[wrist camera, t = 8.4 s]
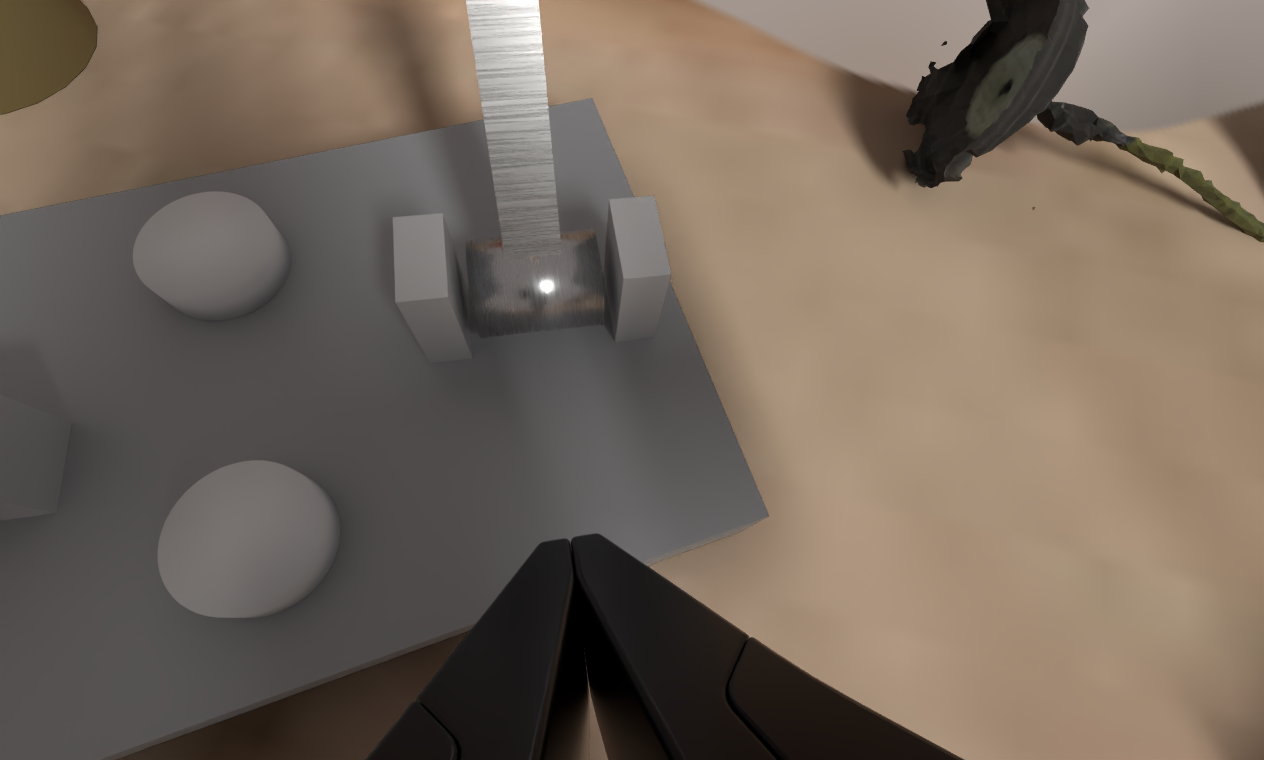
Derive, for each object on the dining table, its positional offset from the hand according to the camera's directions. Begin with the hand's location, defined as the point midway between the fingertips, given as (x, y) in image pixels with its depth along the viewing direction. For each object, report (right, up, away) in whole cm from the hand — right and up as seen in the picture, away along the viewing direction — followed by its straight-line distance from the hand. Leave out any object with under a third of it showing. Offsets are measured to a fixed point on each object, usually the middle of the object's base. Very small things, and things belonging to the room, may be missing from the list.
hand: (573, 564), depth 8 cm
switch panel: (-8, +1, +8) cm, 12 cm away
